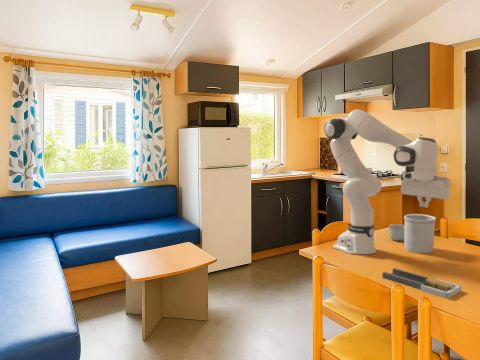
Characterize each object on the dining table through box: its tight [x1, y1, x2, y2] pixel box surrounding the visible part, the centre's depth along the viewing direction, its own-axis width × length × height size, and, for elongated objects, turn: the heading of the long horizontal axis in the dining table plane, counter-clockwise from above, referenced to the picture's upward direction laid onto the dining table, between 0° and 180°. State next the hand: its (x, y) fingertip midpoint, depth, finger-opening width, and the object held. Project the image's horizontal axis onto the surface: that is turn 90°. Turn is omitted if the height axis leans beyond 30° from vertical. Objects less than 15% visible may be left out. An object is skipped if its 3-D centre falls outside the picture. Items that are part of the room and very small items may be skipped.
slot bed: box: [381, 267, 429, 291], centre depth 158 cm, size 17×10×3 cm, turn 37°
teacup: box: [388, 223, 405, 242], centre depth 223 cm, size 14×11×8 cm
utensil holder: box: [403, 213, 437, 254], centre depth 202 cm, size 15×15×18 cm
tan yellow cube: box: [425, 277, 441, 289], centre depth 150 cm, size 4×4×4 cm
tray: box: [420, 278, 462, 300], centre depth 148 cm, size 10×11×3 cm
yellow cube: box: [436, 280, 454, 292], centre depth 146 cm, size 4×4×4 cm
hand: (423, 206), depth 168 cm, fingers closed
